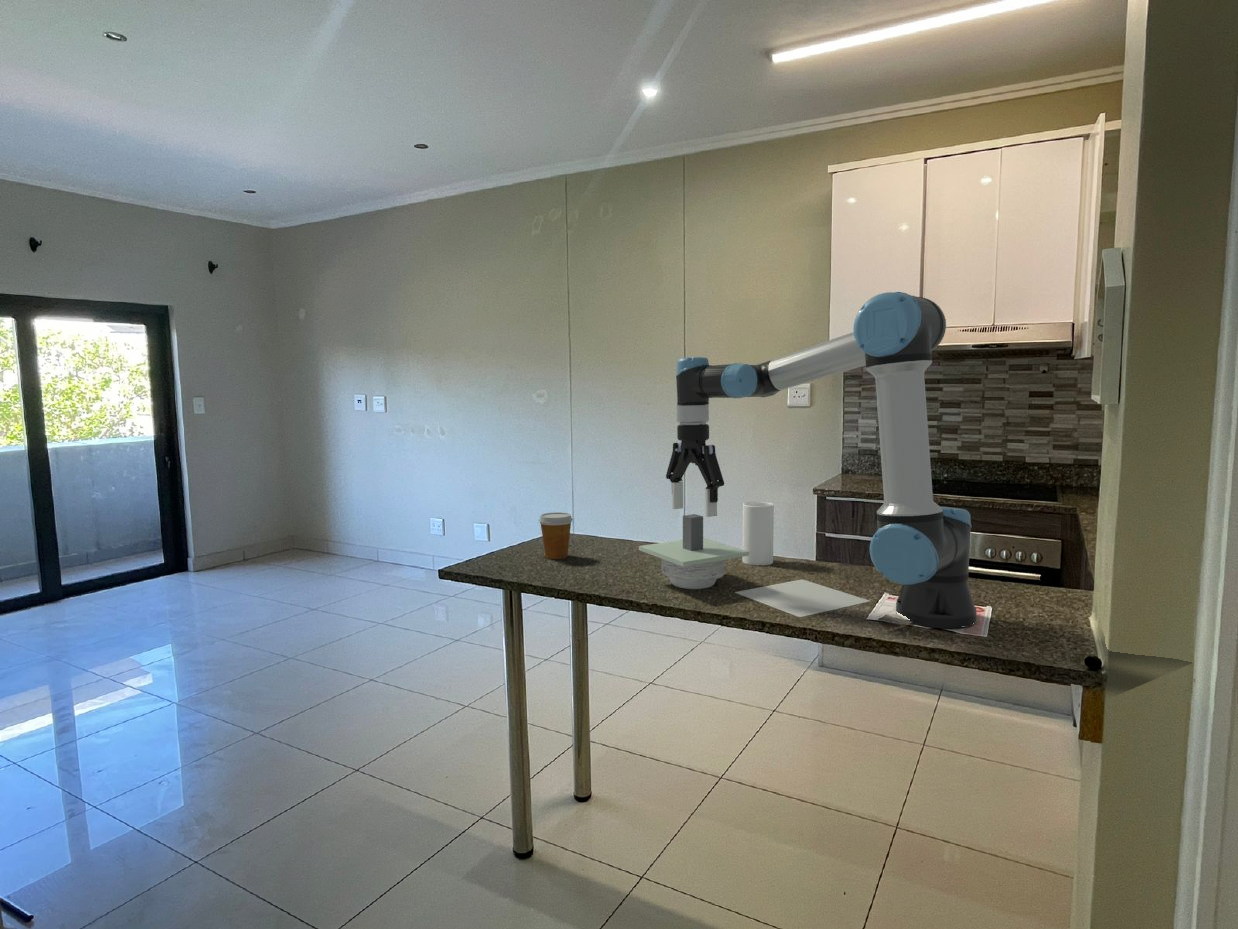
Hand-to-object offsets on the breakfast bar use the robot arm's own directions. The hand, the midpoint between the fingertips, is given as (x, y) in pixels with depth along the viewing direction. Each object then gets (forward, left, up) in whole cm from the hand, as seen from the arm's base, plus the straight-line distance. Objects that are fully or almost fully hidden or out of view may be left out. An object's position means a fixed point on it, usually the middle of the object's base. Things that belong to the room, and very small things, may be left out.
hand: (694, 512), depth 171 cm
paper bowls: (0, 0, -18) cm, 18 cm away
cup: (+9, -28, -18) cm, 34 cm away
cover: (0, 0, -10) cm, 10 cm away
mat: (-22, -14, -18) cm, 31 cm away
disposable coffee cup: (+44, +16, -18) cm, 50 cm away
